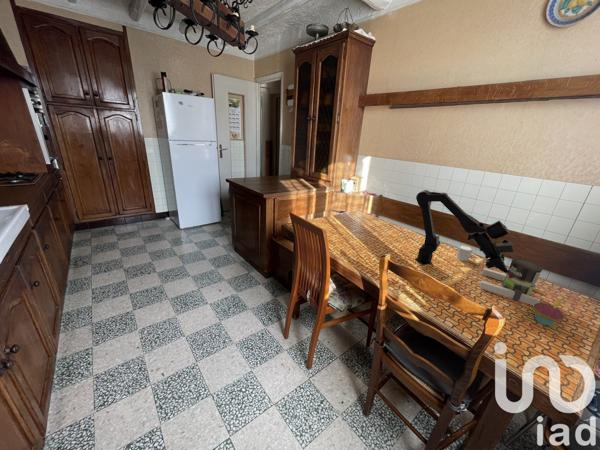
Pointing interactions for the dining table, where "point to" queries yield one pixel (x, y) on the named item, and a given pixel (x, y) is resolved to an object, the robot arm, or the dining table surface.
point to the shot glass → (464, 253)
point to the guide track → (506, 292)
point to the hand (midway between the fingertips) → (506, 272)
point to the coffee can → (522, 275)
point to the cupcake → (548, 313)
